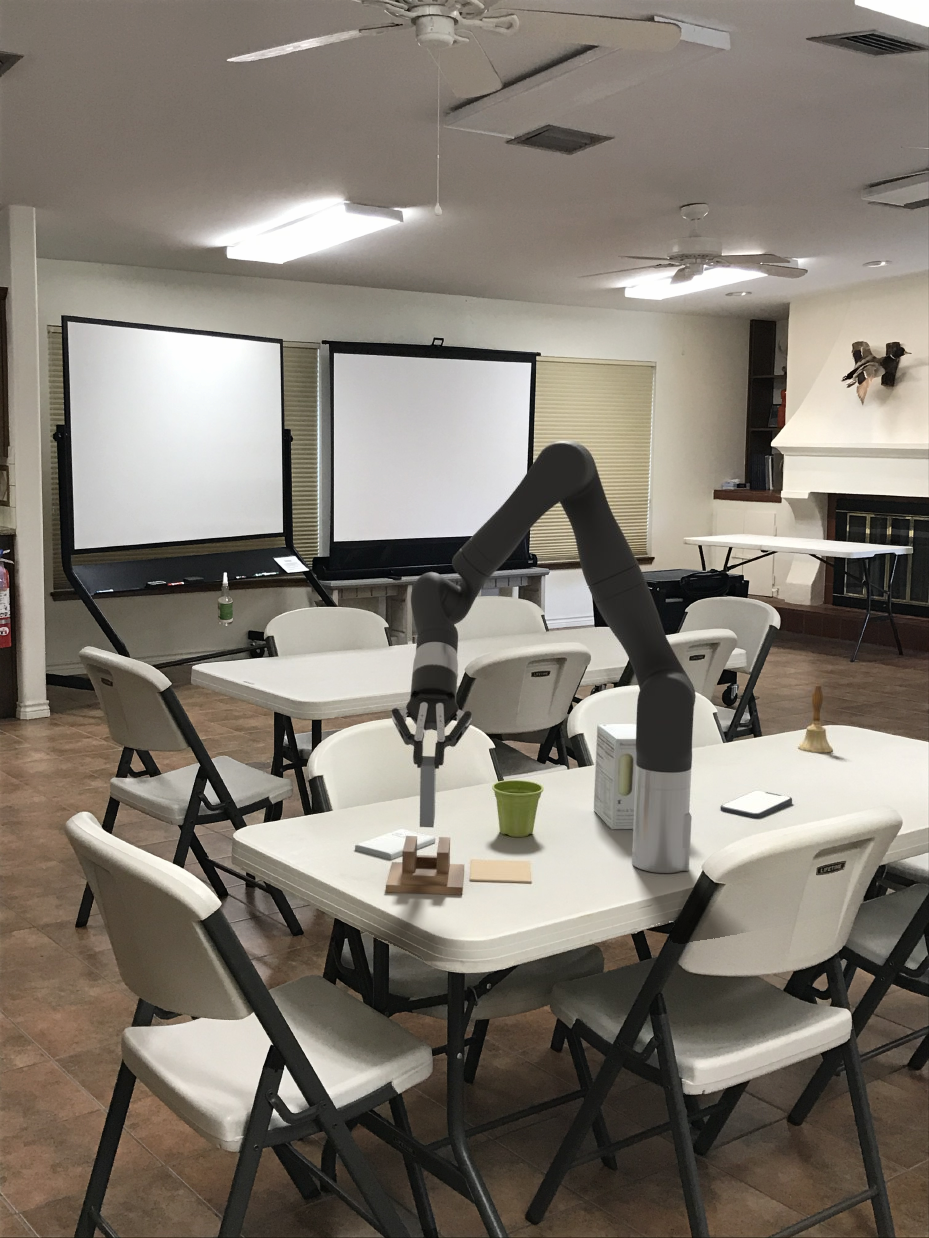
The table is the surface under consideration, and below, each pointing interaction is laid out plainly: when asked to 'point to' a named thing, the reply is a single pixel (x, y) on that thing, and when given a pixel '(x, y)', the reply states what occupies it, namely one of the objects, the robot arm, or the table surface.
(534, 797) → the plant pot
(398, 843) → the external hard drive
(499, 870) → the cork mat
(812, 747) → the hand bell
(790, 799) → the phone case
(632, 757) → the supplement box
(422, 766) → the grey rectangular block
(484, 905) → the table surface
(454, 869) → the rack
